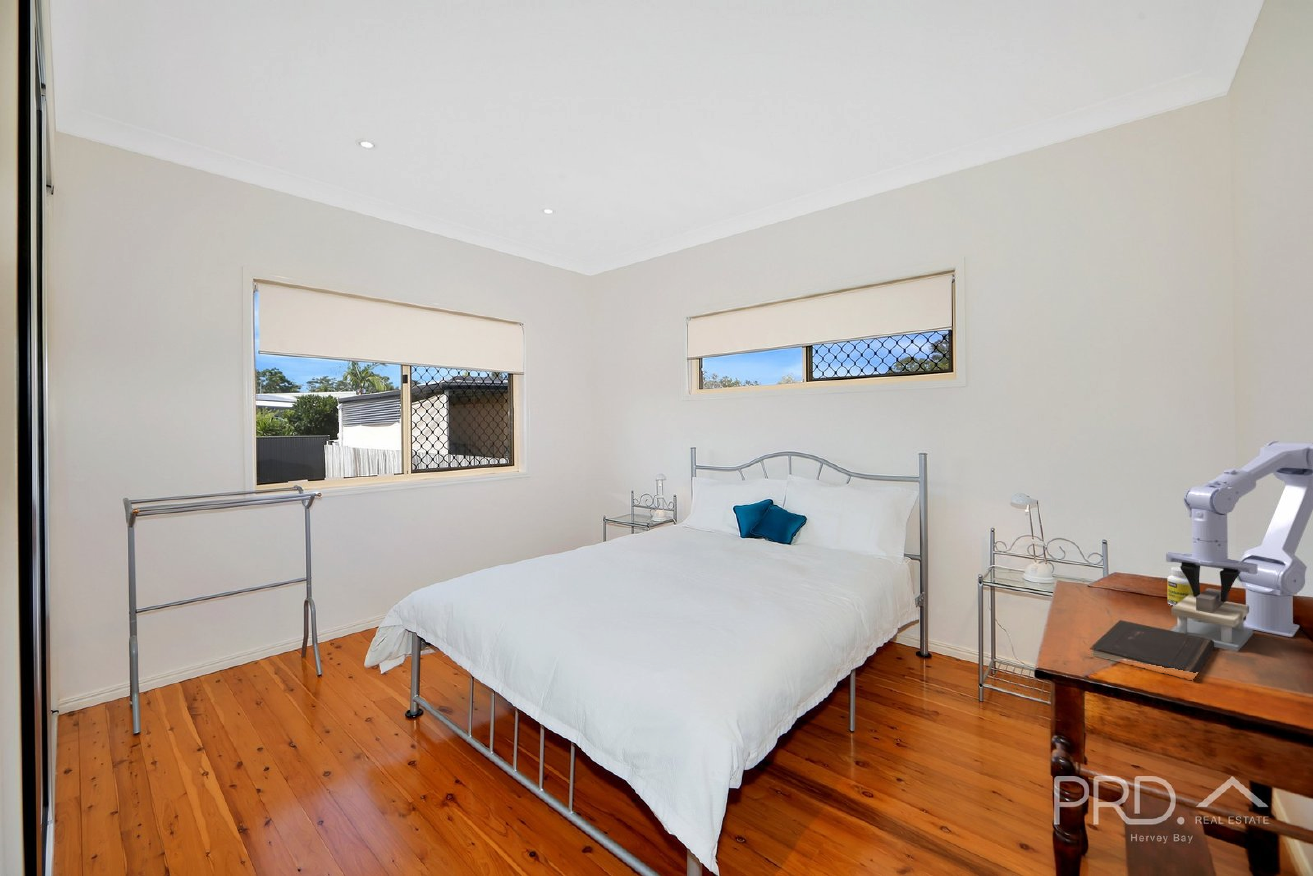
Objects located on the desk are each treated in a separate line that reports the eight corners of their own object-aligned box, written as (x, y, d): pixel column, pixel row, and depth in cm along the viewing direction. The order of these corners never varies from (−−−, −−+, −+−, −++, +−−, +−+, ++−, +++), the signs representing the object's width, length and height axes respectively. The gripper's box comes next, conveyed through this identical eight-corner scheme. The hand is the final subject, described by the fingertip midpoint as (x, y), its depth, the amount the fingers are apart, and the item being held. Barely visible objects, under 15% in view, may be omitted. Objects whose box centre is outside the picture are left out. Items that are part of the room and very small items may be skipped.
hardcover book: (1090, 658, 117) (1089, 647, 117) (1119, 629, 131) (1119, 619, 131) (1193, 685, 104) (1193, 673, 104) (1214, 650, 118) (1214, 639, 118)
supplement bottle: (1163, 604, 144) (1162, 568, 143) (1173, 601, 146) (1173, 565, 146) (1190, 611, 139) (1189, 573, 138) (1200, 607, 141) (1200, 569, 141)
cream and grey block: (1189, 601, 132) (1188, 582, 132) (1249, 612, 124) (1249, 592, 124) (1171, 614, 124) (1171, 595, 124) (1234, 627, 116) (1234, 606, 116)
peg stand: (1187, 620, 133) (1187, 600, 133) (1253, 633, 124) (1253, 612, 124) (1168, 636, 125) (1167, 614, 125) (1237, 651, 116) (1237, 628, 115)
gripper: (1161, 537, 127) (1162, 594, 128) (1252, 547, 115) (1252, 611, 116) (1170, 532, 131) (1171, 588, 132) (1259, 542, 119) (1260, 603, 120)
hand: (1210, 598), depth 124 cm, fingers open, 4 cm apart
